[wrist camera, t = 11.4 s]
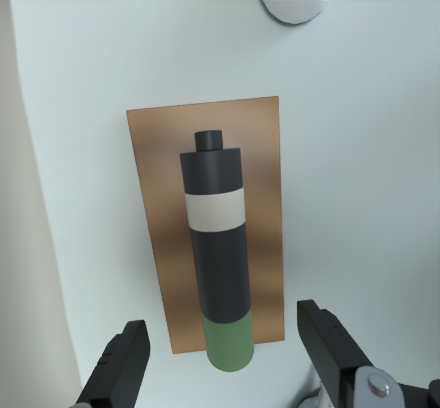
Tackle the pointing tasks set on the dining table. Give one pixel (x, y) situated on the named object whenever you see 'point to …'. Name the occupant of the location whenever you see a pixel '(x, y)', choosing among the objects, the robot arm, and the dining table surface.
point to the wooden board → (177, 212)
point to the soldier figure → (318, 400)
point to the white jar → (295, 9)
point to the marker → (219, 248)
